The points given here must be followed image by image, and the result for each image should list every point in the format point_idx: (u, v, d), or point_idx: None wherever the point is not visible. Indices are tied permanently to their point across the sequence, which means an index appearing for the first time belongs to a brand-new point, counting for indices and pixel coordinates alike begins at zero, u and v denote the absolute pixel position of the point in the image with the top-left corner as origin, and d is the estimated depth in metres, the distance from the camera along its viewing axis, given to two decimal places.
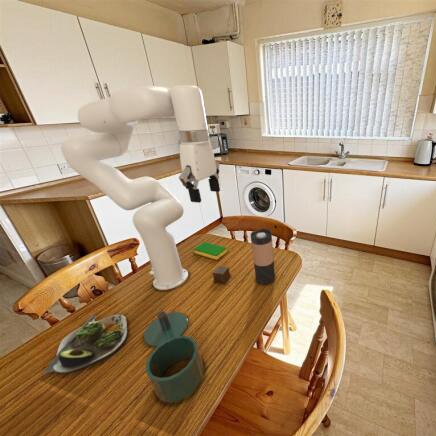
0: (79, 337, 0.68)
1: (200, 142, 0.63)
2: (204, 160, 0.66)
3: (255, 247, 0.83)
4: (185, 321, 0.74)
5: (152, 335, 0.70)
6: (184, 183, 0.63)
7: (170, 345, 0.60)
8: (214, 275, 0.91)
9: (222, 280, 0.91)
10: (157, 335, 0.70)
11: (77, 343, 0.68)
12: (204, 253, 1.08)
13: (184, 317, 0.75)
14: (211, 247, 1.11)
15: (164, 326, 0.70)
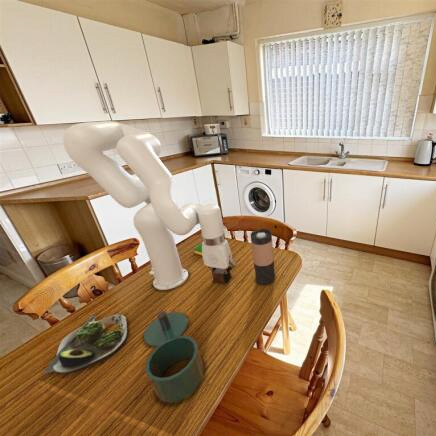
0: (79, 337, 0.68)
1: None
2: None
3: (255, 247, 0.83)
4: (185, 321, 0.74)
5: (152, 335, 0.70)
6: None
7: (170, 345, 0.60)
8: (214, 275, 0.91)
9: (222, 280, 0.91)
10: (157, 335, 0.70)
11: (77, 343, 0.68)
12: None
13: (184, 317, 0.75)
14: None
15: (164, 326, 0.70)
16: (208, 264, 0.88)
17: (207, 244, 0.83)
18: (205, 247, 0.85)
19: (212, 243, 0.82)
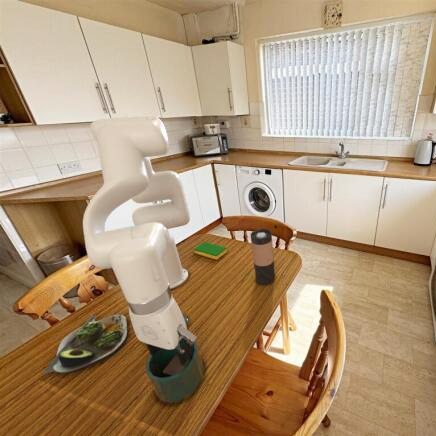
0: (79, 337, 0.68)
1: (171, 292, 0.50)
2: None
3: (255, 247, 0.83)
4: (185, 321, 0.74)
5: None
6: None
7: None
8: (165, 375, 0.56)
9: None
10: None
11: (77, 343, 0.68)
12: (204, 253, 1.08)
13: (184, 317, 0.75)
14: (211, 247, 1.11)
15: None
16: (143, 339, 0.50)
17: (133, 312, 0.45)
18: None
19: (142, 311, 0.45)
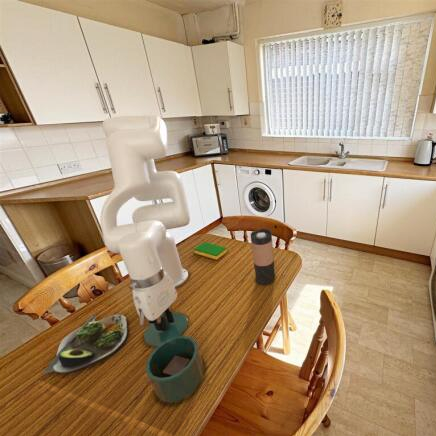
0: (79, 337, 0.68)
1: None
2: None
3: (255, 247, 0.83)
4: (185, 321, 0.74)
5: (152, 335, 0.70)
6: None
7: (170, 345, 0.60)
8: (165, 375, 0.56)
9: None
10: (157, 335, 0.70)
11: (77, 343, 0.68)
12: (204, 253, 1.08)
13: (184, 317, 0.75)
14: (211, 247, 1.11)
15: None
16: (158, 313, 0.65)
17: (158, 281, 0.63)
18: (151, 292, 0.62)
19: (162, 274, 0.64)
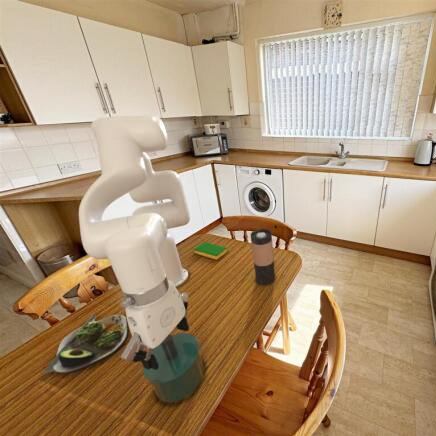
0: (79, 337, 0.68)
1: None
2: None
3: (255, 247, 0.83)
4: (196, 346, 0.57)
5: None
6: None
7: None
8: None
9: None
10: (160, 366, 0.53)
11: (77, 343, 0.68)
12: (204, 253, 1.08)
13: (194, 340, 0.59)
14: (211, 247, 1.11)
15: (169, 354, 0.53)
16: (161, 337, 0.48)
17: (161, 295, 0.46)
18: (151, 310, 0.45)
19: (166, 286, 0.47)
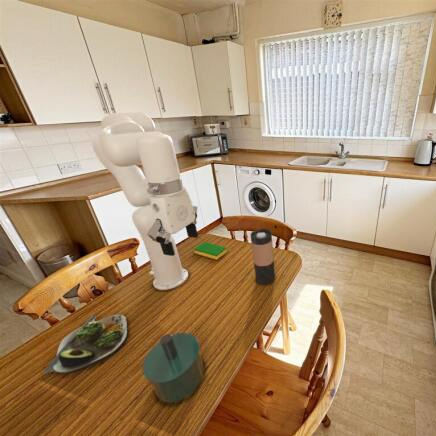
0: (79, 337, 0.68)
1: None
2: None
3: (255, 247, 0.83)
4: (196, 346, 0.57)
5: (153, 366, 0.53)
6: None
7: None
8: None
9: None
10: (160, 366, 0.53)
11: (77, 343, 0.68)
12: (204, 253, 1.08)
13: (194, 340, 0.59)
14: (211, 247, 1.11)
15: (169, 354, 0.53)
16: (177, 227, 0.60)
17: (177, 189, 0.58)
18: (170, 200, 0.58)
19: (181, 185, 0.60)
